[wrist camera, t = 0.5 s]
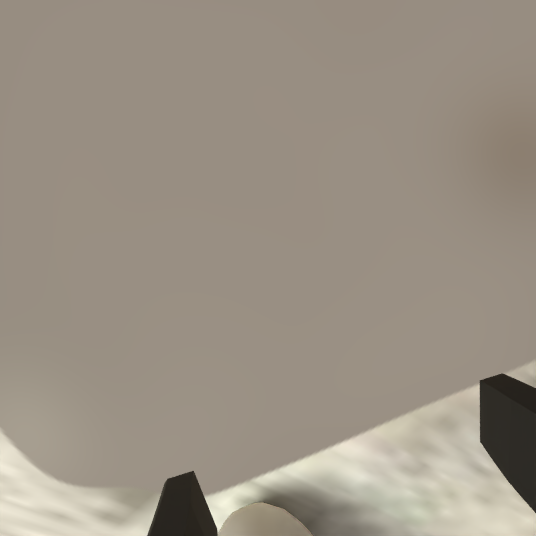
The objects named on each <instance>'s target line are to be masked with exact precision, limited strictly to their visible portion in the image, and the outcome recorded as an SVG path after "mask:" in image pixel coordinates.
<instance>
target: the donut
mask: <svg viewBox="0 0 536 536" xmlns="http://www.w3.org/2000/svg"><path fill="white" fill-rule="evenodd" d="M218 536H313V535H312V534H311V532H310V531H309V530H308V529H307V528H306V527H305V526H304V525H303V524H302V523H301V522H300V521H299V520H298V519H296V518H295V517H294V516H292V515H291V514H290V513H289V512H287V511H286V510H285V509H282V508H279V507H276V506H273V505H270V504H266V503H263V502H260V503H253V504H250V505H248V506H245V507H243V508H240V509H239V510H237V511H235V512H233V513H232V514H231V515H230V516H229V517H228V518H227V519H226V521H225V522H224V524H223V526H222V528H221V529H220V531H219V533H218Z"/></svg>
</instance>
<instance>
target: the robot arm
mask: <svg viewBox="0 0 536 536" xmlns="http://www.w3.org/2000/svg"><path fill="white" fill-rule="evenodd" d="M480 442H481V443H482V445H483V446H484V448H485V449H486V451H487V452H488V454H489V455H490V457H491V458H492V459H493V461H494V462H495V464H496V465H497V467H498V468H499V469H500V471H501V472H502V473H503V475H504V476H505V478H506V479H507V480H508V482H509V483H510V484H511V485H512V486H513V487H514V489H515V490H516V491H517V492H518V493H519V494H520V496H521V497H522V498H523V499H524V500H525V501H526V502H527V504H528V505H529V506H530V507H531V508H532V509H533V510H534V512H535V513H536V388H534V387H532V386H529V385H527V384H525V383H523V382H521V381H519V380H516V379H514V378H512V377H509V376H507V375H505V374H499V375H496V376H493V377H490V378H486V379H484V380H480ZM147 536H218V533H217V528H216V525H215V523H214V520H213V518H212V515H211V513H210V510H209V508H208V505H207V503H206V500H205V498H204V495H203V493H202V491H201V488H200V485H199V483H198V480H197V478H196V475H195V473H194V471H192V472H188V473H185V474H182V475H179V476H176V477H172V478H169V479H167V481H166V482H165V484H164V487H163V491H162V493H161V497H160V500H159V503H158V506H157V509H156V512H155V515H154V518H153V521H152V524H151V527H150V529H149V532H148V535H147Z"/></svg>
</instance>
